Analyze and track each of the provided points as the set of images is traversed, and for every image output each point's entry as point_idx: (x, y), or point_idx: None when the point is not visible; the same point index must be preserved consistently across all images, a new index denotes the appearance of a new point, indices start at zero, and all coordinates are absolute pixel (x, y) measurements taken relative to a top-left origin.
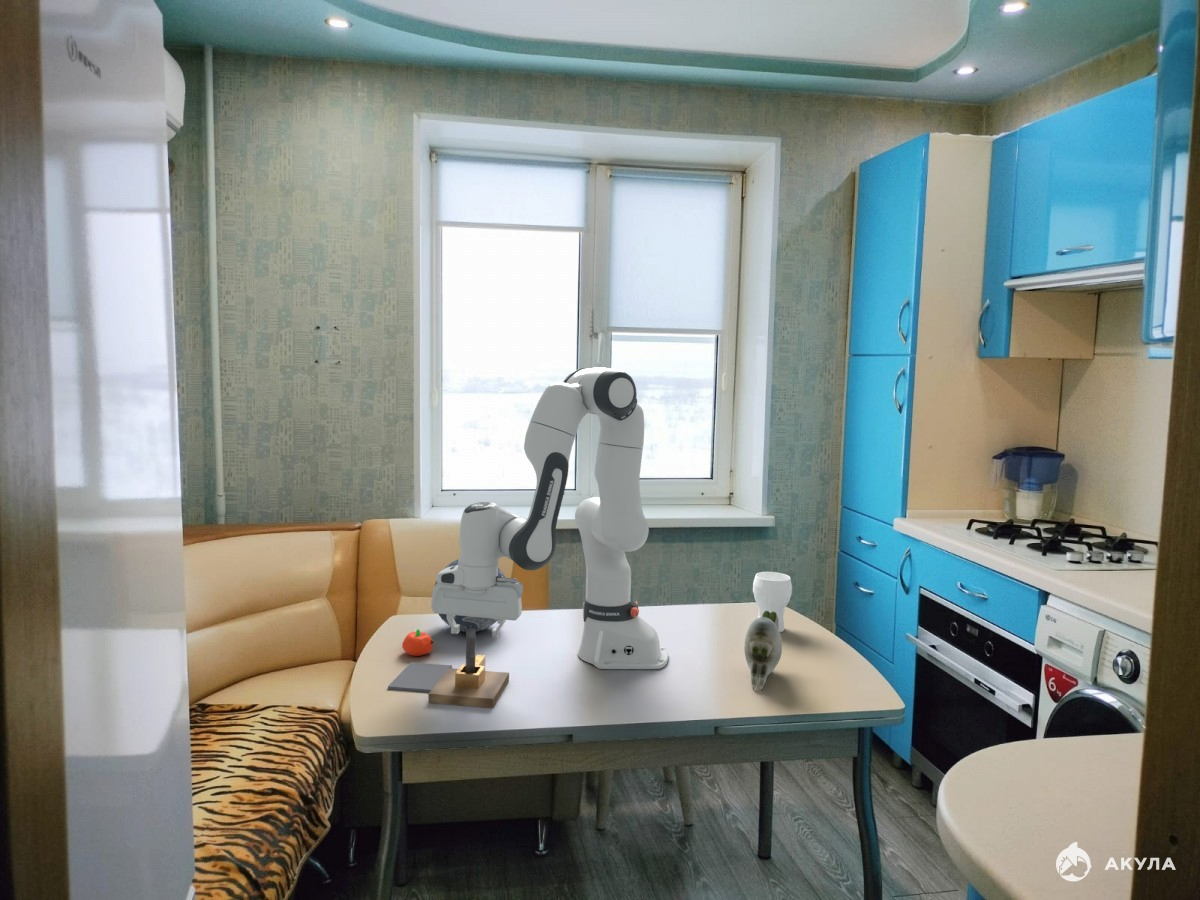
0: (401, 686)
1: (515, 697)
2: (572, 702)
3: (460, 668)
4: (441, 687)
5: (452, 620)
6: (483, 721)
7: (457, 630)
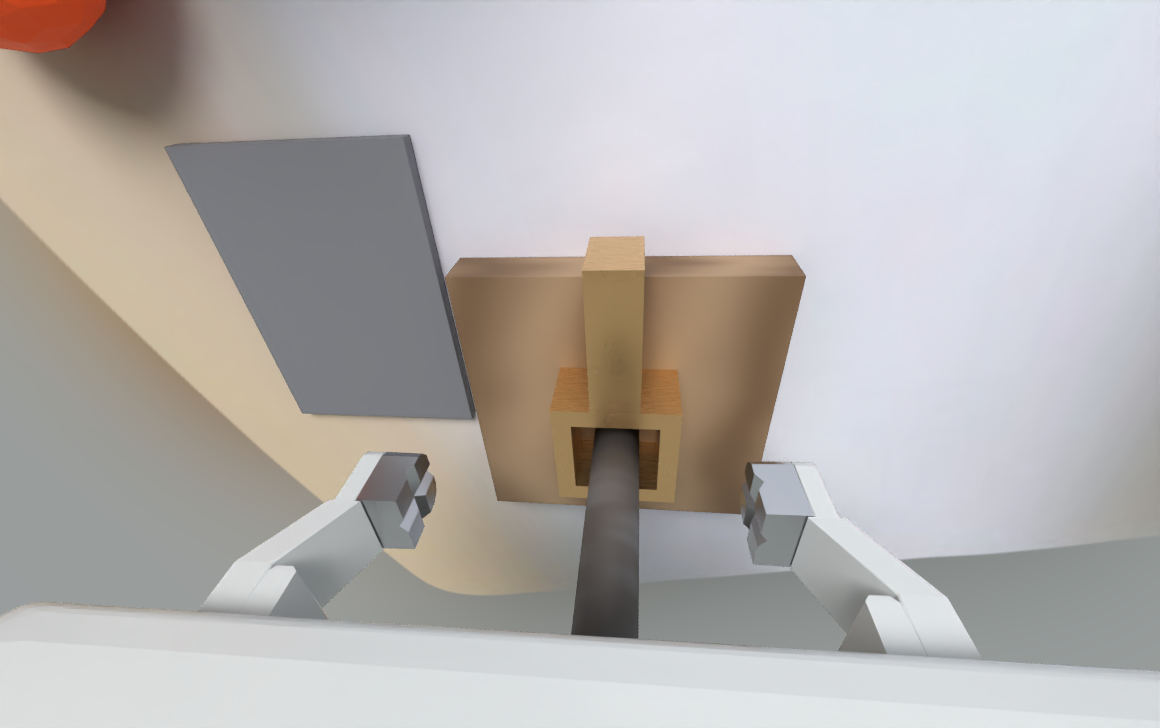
0: (348, 409)
1: (829, 407)
2: (1110, 418)
3: (561, 453)
4: (518, 459)
5: (324, 571)
6: (722, 547)
7: (420, 502)
